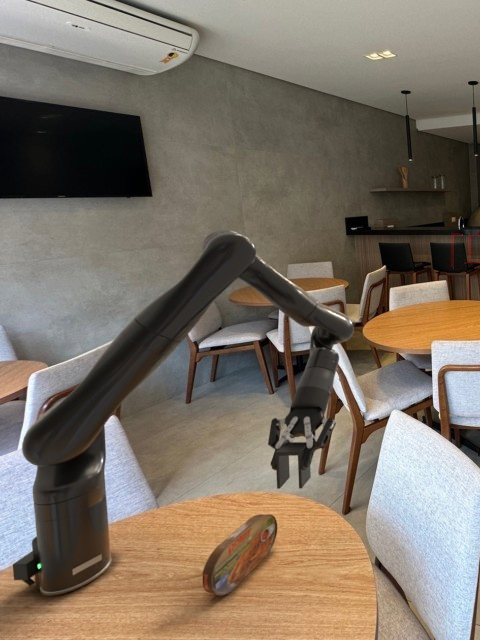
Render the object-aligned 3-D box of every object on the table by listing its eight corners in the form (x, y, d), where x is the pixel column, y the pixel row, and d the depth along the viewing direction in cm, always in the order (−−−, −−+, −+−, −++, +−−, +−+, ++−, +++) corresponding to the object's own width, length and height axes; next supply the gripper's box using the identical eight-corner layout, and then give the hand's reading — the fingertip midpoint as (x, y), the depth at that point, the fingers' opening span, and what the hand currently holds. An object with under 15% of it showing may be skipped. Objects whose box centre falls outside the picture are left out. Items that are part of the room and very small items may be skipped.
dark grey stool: (276, 488, 86) (275, 452, 86) (287, 477, 90) (285, 442, 90) (301, 488, 86) (300, 451, 86) (310, 477, 90) (309, 442, 90)
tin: (214, 608, 72) (212, 562, 71) (199, 605, 72) (197, 559, 72) (279, 543, 86) (277, 505, 86) (266, 541, 87) (264, 503, 87)
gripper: (276, 384, 95) (246, 464, 83) (339, 384, 95) (317, 464, 84) (289, 397, 100) (262, 474, 89) (348, 397, 100) (329, 473, 89)
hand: (289, 469), depth 86 cm, fingers closed on dark grey stool, 5 cm apart
